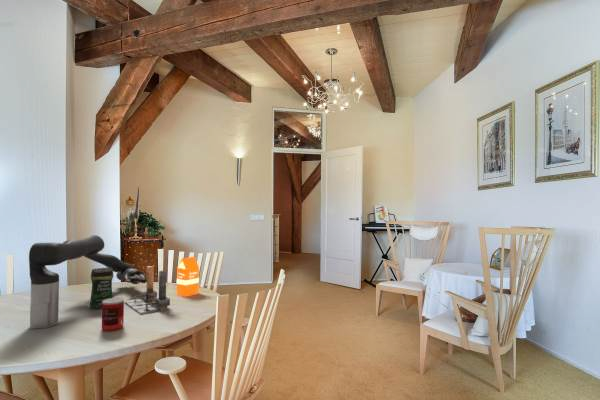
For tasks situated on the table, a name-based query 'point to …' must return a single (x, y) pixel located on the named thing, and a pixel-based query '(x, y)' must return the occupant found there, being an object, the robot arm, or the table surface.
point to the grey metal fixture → (152, 299)
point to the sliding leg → (149, 285)
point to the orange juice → (187, 277)
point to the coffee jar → (101, 286)
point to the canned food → (112, 314)
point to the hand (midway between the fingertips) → (144, 281)
